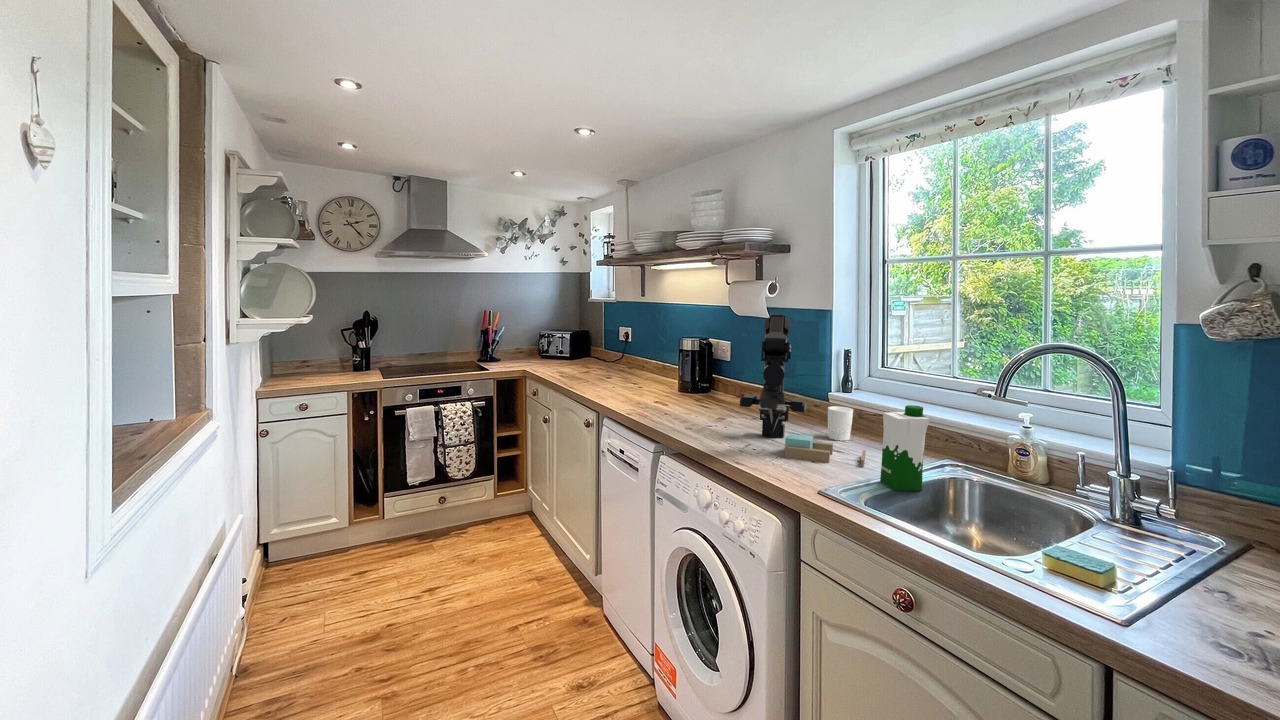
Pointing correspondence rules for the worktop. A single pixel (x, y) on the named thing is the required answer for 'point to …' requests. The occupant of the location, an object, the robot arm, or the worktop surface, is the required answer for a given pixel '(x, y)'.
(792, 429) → the worktop surface
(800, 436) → the block
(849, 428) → the white cup
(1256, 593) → the worktop surface
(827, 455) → the chute
